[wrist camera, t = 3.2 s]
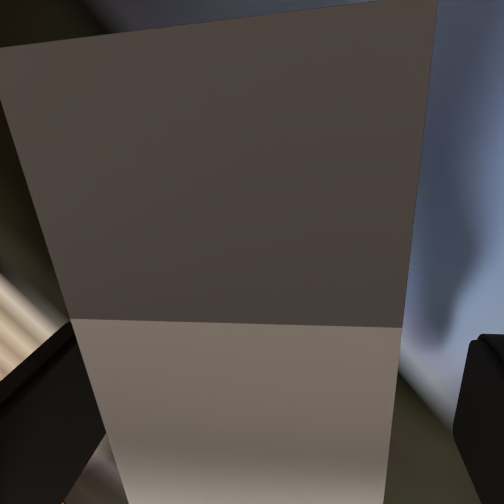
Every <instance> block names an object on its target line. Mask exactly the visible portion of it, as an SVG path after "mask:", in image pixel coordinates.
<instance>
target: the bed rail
mask: <svg viewBox="0 0 504 504" xmlns="http://www.w3.org/2000/svg"><path fill="white" fill-rule="evenodd" d="M437 5H438V0H378V1H370V2H362V3H354V4H346V5H338V6H330V7H322V8H314V9H307V10H298V11H290V12H283V13H275V14H267V15H259V16H251V17H243V18H235V19H227V20H219V21H211V22H203V23H195V24H187V25H179V26H171V27H163V28H155V29H147V30H139V31H131V32H123V33H115V34H107V35H99V36H91V37H83V38H75V39H67V40H59V41H51V42H43V43H35V44H27V45H19V46H11V47H3V48H0V100H1V103H2V107H3V110H4V113H5V116H6V119H7V122H8V125H9V128H10V132H11V135H12V138H13V141H14V144H15V147H16V150H17V154H18V157H19V160H20V163H21V166H22V169H23V172H24V176H25V179H26V182H27V185H28V188H29V191H30V194H31V198H32V201H33V204H34V207H35V210H36V213H37V216H38V219H39V223H40V226H41V229H42V232H43V235H44V238H45V241H46V245H47V248H48V251H49V254H50V257H51V260H52V263H53V267H54V270H55V273H56V276H57V279H58V282H59V285H60V289H61V292H62V295H63V298H64V301H65V304H66V307H67V310H68V314H69V317H70V320H71V323H72V326H73V329H74V332H75V336H76V339H77V342H78V345H79V348H80V351H81V354H82V358H83V361H84V364H85V367H86V370H87V373H88V376H89V380H90V383H91V386H92V389H93V392H94V395H95V398H96V401H97V405H98V408H99V411H100V414H101V417H102V420H103V423H104V427H105V430H106V433H107V436H108V439H109V442H110V445H111V449H112V452H113V455H114V458H115V461H116V464H117V467H118V471H119V474H120V477H121V480H122V483H123V486H124V489H125V492H126V496H127V499H128V502H129V504H383V499H384V490H385V481H386V471H387V462H388V453H389V444H390V435H391V426H392V417H393V407H394V398H395V389H396V380H397V371H398V362H399V353H400V343H401V334H402V325H403V316H404V307H405V298H406V288H407V279H408V270H409V261H410V252H411V243H412V234H413V224H414V215H415V206H416V197H417V188H418V179H419V170H420V160H421V151H422V142H423V133H424V124H425V115H426V105H427V96H428V87H429V78H430V69H431V60H432V51H433V41H434V32H435V23H436V14H437Z"/></svg>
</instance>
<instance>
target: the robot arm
mask: <svg viewBox="0 0 504 504" xmlns="http://www.w3.org/2000/svg"><path fill="white" fill-rule="evenodd" d="M105 434H106V430H105V427H104V423H103V420H102V417H101V414H100V411H99V408H98V405H97V401H96V398H95V395H94V392H93V389H92V386H91V383H90V380H89V376H88V373H87V370H86V367H85V364H84V361H83V358H82V354H81V351H80V348H79V345H78V342H77V339H76V336H75V332H74V329H73V326H72V323H71V322H68V323H66V324H64V325H63V326H62V327H61V328H60V329H59V330H58V331H57V332H55V333H54V334H53V335H52V336H51V337H50V338H49V339H48V340H46V341H45V342H44V343H43V344H42V345H41V346H40V347H39V348H37V349H36V350H35V351H34V352H33V353H32V354H31V355H30V356H28V357H27V358H26V359H25V360H24V361H23V362H22V363H21V364H19V365H18V366H17V367H16V368H15V369H14V370H13V371H12V372H10V373H9V374H8V375H7V376H6V377H5V378H4V379H3V380H1V381H0V504H62V503H63V501H64V500H65V498H66V496H67V495H68V493H69V492H70V490H71V488H72V487H73V485H74V484H75V482H76V480H77V479H78V477H79V475H80V474H81V472H82V471H83V469H84V467H85V466H86V464H87V463H88V461H89V459H90V458H91V456H92V455H93V453H94V451H95V450H96V448H97V447H98V445H99V443H100V442H101V440H102V439H103V437H104V435H105ZM453 435H454V440H455V443H456V445H457V447H458V450H459V452H460V454H461V457H462V459H463V461H464V464H465V466H466V468H467V471H468V473H469V475H470V478H471V480H472V482H473V485H474V487H475V489H476V492H477V494H478V496H479V499H480V501H481V503H482V504H504V334H481V335H480V336H479V337H478V339H477V340H472V341H471V342H470V344H469V348H468V353H467V358H466V363H465V368H464V373H463V378H462V383H461V388H460V393H459V398H458V403H457V408H456V413H455V418H454V423H453Z"/></svg>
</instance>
